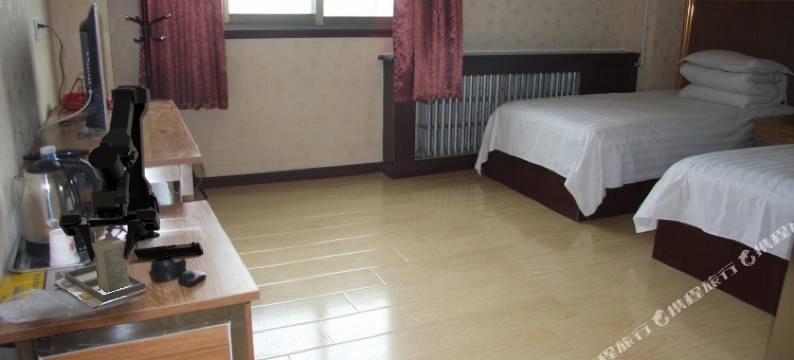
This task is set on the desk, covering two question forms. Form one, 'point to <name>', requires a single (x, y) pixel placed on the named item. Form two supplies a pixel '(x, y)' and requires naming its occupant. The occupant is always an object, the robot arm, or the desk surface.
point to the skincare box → (110, 264)
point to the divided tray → (96, 286)
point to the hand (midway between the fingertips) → (108, 259)
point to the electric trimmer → (169, 250)
